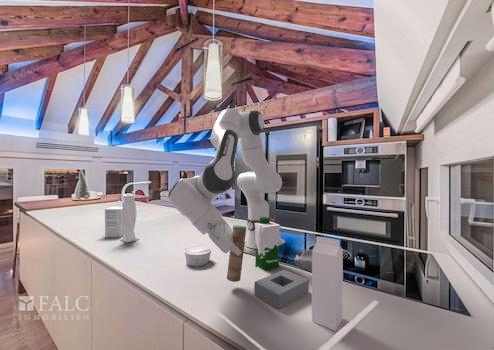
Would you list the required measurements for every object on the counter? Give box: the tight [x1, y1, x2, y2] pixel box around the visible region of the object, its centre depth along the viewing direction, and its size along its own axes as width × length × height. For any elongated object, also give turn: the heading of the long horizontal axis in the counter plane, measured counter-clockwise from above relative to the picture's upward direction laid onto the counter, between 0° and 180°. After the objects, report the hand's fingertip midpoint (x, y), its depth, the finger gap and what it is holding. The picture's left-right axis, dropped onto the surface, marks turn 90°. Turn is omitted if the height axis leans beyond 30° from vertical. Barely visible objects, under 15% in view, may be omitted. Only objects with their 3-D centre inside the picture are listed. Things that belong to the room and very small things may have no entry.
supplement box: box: [104, 206, 124, 238], centre depth 142 cm, size 10×9×17 cm
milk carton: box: [254, 217, 281, 272], centre depth 94 cm, size 9×9×20 cm
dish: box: [294, 249, 313, 273], centre depth 96 cm, size 14×14×5 cm
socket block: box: [253, 269, 310, 310], centre depth 72 cm, size 14×10×5 cm
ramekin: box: [184, 245, 212, 267], centre depth 100 cm, size 11×11×5 cm
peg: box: [226, 224, 247, 283], centre depth 76 cm, size 4×4×17 cm
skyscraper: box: [119, 190, 140, 244], centre depth 130 cm, size 8×8×28 cm
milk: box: [311, 235, 344, 332], centre depth 60 cm, size 6×6×22 cm
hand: (239, 250), depth 76 cm, fingers closed on peg, 4 cm apart
